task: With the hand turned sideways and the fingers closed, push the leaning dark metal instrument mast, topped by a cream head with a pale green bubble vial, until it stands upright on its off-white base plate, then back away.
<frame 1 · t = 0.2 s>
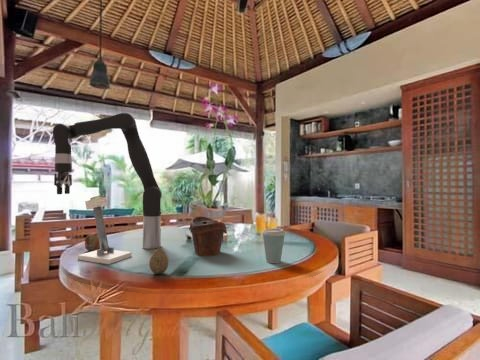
hand: (63, 194, 146), 29 cm above the table, tool pointing down, fingers open, 8 cm apart
base plate: (105, 257, 131), on the table
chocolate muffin: (207, 253, 144), on the table
decorative egg: (158, 274, 110), on the table
disposable coffee cup: (272, 261, 130), on the table
instrument mast: (100, 223, 132), point 16 cm above the table, hinge at 15.0°
brown textured slab: (94, 249, 148), on the table
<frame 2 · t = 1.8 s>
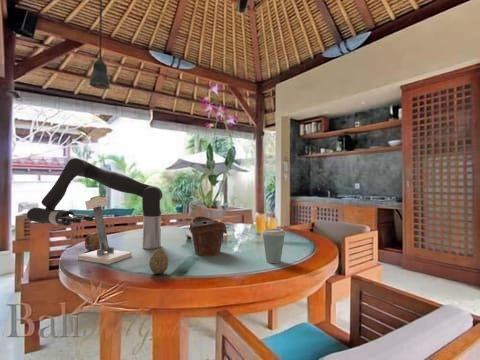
hand: (86, 219, 135), 17 cm above the table, tool horizontal, fingers open, 6 cm apart
nothing on the table moved.
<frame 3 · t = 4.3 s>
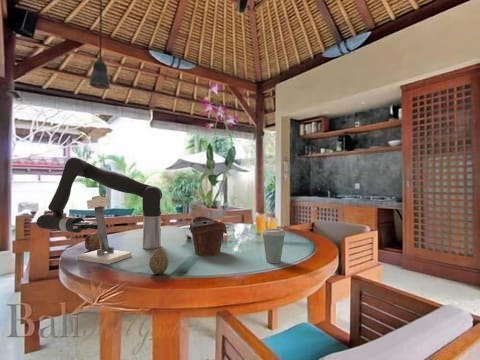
hand: (98, 226, 133), 14 cm above the table, tool horizontal, fingers closed
instrument mast: (101, 223, 132), point 16 cm above the table, hinge at 12.7°, touching gripper
everything else where it was.
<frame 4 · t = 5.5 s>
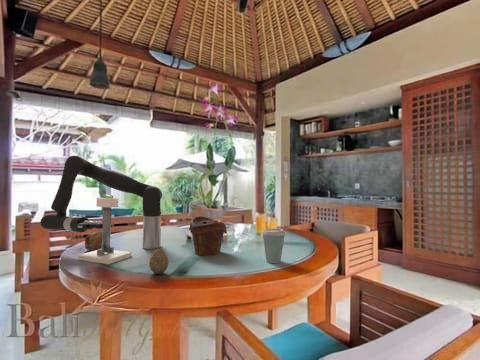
hand: (103, 226, 131), 15 cm above the table, tool horizontal, fingers closed
instrument mast: (106, 223, 131), point 16 cm above the table, hinge at -1.2°, touching gripper
everything else where it was.
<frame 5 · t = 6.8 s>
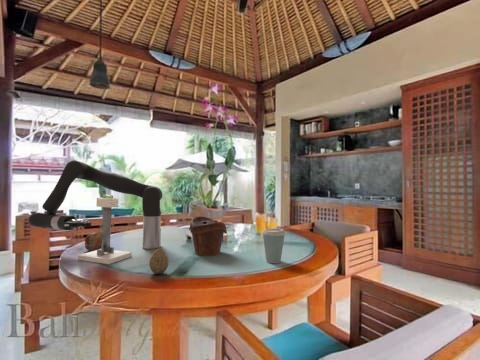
hand: (89, 224, 134), 15 cm above the table, tool horizontal, fingers closed
instrument mast: (106, 223, 131), point 16 cm above the table, hinge at -1.2°
everything else where it was.
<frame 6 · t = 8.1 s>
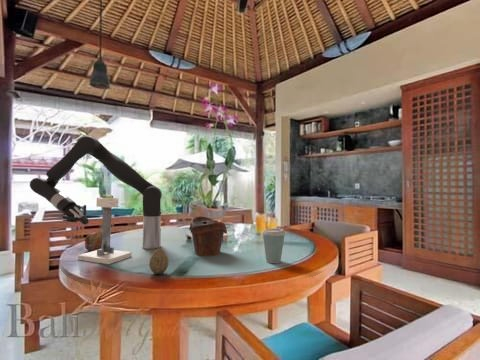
hand: (87, 222, 138), 15 cm above the table, tool tilted 60°, fingers closed
nothing on the table moved.
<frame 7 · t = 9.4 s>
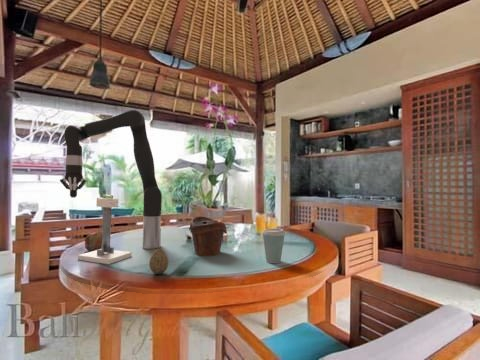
hand: (73, 197, 147), 27 cm above the table, tool pointing down, fingers closed
nothing on the table moved.
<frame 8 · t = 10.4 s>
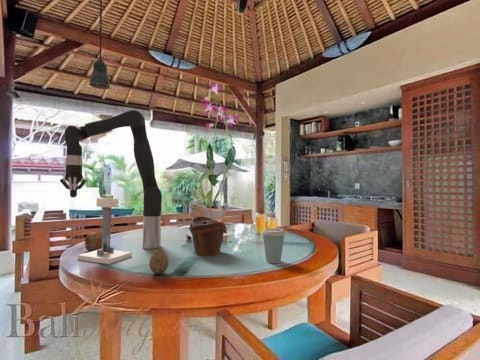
hand: (73, 197, 147), 27 cm above the table, tool pointing down, fingers closed
nothing on the table moved.
at the end: instrument mast at -1° (first picture: +15°); brown textured slab moved 0.3 cm from its start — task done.
